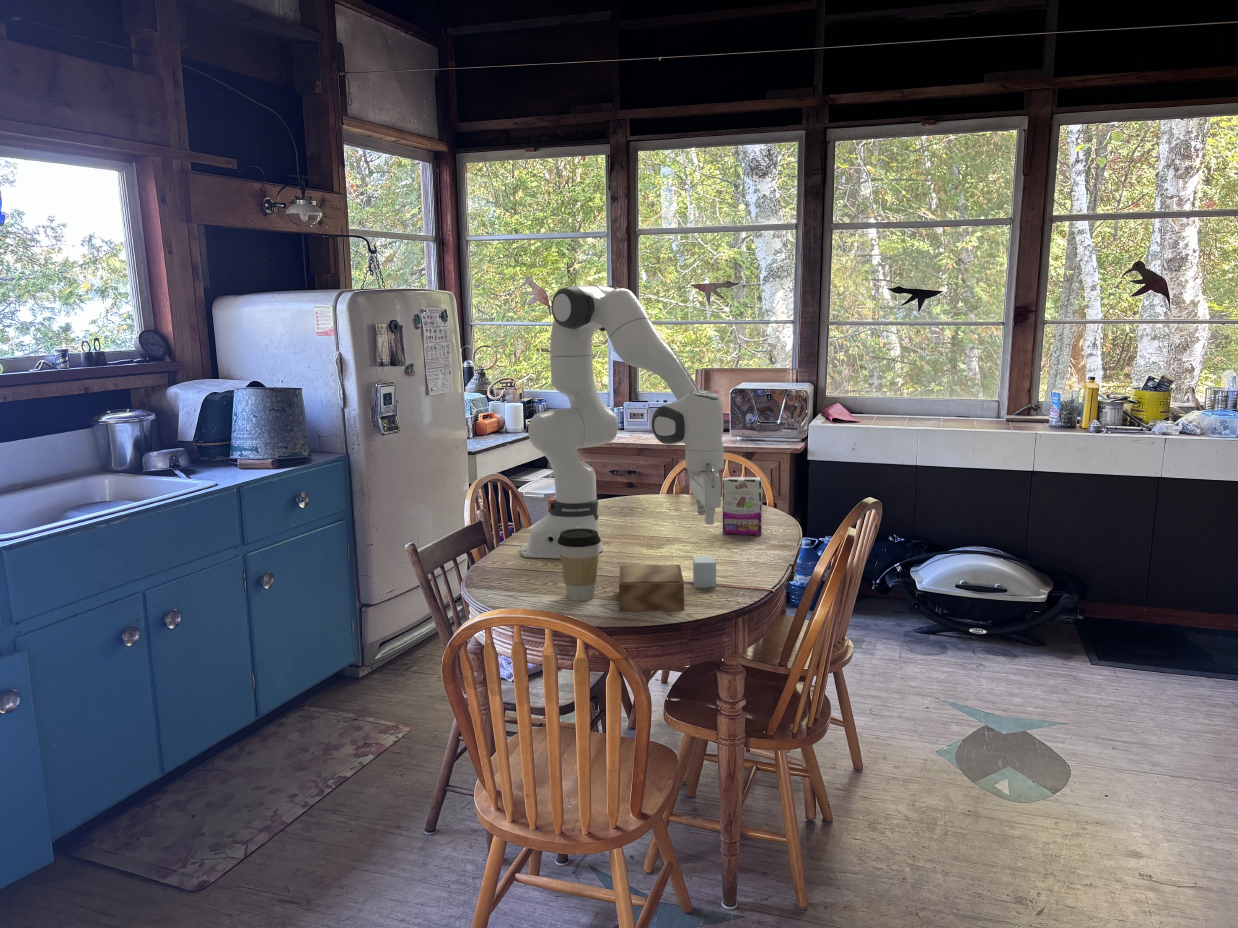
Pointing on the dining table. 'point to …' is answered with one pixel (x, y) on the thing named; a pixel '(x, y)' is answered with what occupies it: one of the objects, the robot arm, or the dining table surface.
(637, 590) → the block
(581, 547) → the coffee cup
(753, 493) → the candy bar box
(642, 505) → the dining table surface
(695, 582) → the painted block
